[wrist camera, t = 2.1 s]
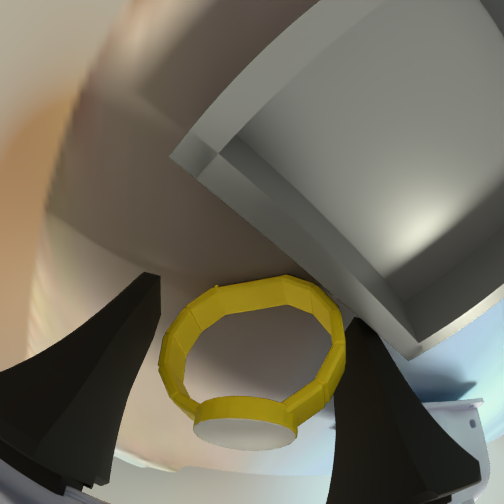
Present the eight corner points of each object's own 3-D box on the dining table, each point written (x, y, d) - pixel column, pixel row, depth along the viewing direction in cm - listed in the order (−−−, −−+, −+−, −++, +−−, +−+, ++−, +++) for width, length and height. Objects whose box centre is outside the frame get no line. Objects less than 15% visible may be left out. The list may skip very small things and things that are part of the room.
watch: (199, 320, 13) (165, 444, 8) (174, 273, 11) (118, 409, 7) (336, 305, 12) (351, 446, 7) (331, 250, 10) (356, 413, 5)
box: (434, -62, 3) (470, -84, 1) (562, 173, 6) (597, 200, 4) (198, 132, 8) (168, 157, 6) (394, 315, 12) (408, 360, 10)
